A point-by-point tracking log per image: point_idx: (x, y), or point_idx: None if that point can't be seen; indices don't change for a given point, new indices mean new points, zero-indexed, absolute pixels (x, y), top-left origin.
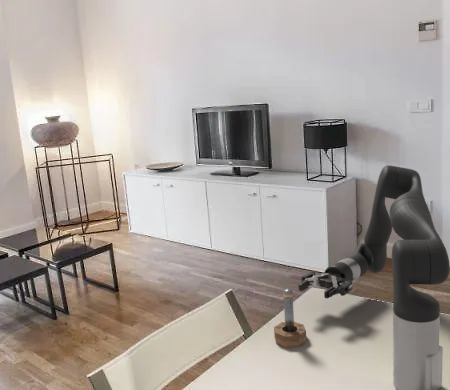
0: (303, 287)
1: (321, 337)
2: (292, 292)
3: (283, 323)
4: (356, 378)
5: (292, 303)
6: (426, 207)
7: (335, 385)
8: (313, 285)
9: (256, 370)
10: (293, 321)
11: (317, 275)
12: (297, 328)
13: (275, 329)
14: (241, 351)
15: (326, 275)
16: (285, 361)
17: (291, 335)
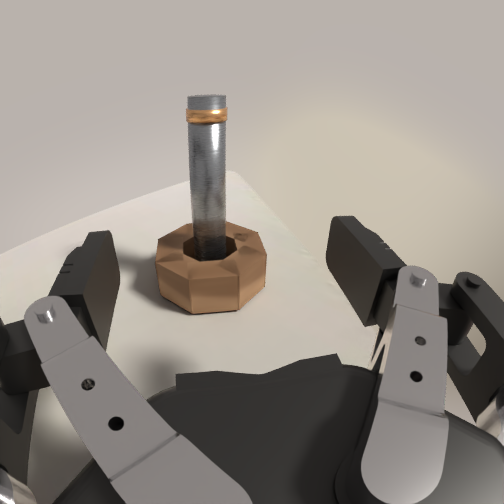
0: (341, 261)
1: (131, 339)
2: (190, 107)
3: (254, 252)
4: (4, 263)
5: (189, 150)
6: None
7: (37, 237)
8: (369, 363)
9: (184, 202)
10: (192, 221)
11: (437, 357)
12: (189, 257)
13: (241, 227)
14: (260, 212)
15: (356, 455)
16: (154, 231)
17: (177, 232)
